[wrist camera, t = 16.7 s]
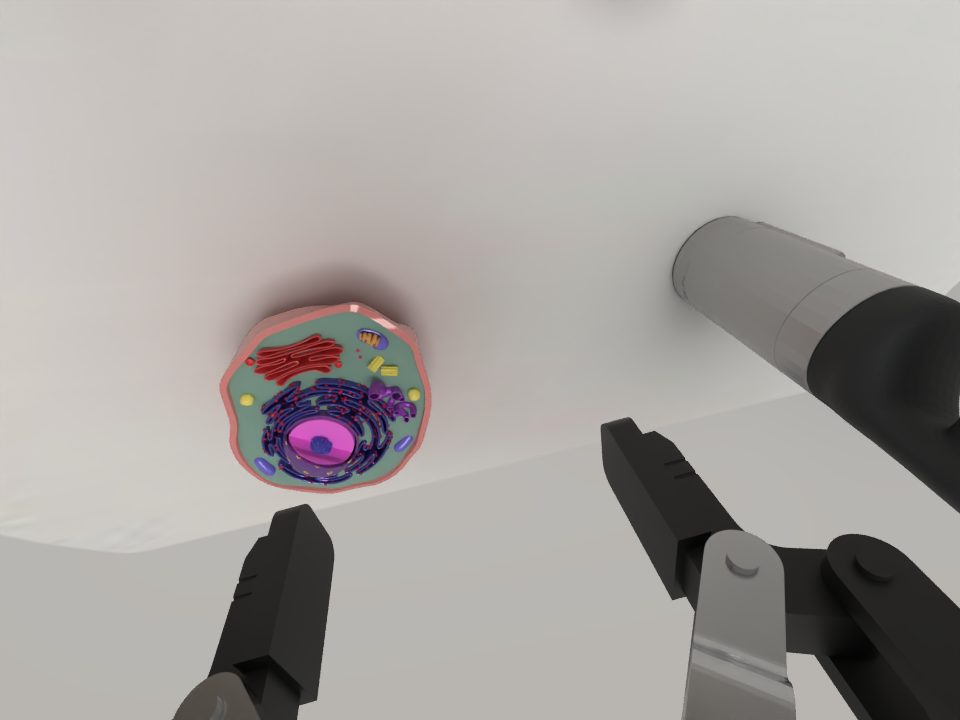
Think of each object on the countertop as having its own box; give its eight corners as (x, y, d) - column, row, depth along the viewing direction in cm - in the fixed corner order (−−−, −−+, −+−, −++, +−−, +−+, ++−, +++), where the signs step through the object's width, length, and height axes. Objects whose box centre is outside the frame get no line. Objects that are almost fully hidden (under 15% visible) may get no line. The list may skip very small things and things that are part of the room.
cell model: (463, 311, 43) (483, 376, 33) (380, 453, 50) (378, 539, 41) (284, 232, 36) (246, 285, 27) (221, 410, 44) (175, 499, 34)
